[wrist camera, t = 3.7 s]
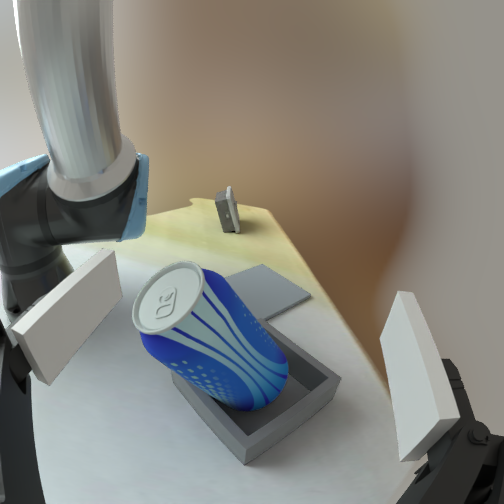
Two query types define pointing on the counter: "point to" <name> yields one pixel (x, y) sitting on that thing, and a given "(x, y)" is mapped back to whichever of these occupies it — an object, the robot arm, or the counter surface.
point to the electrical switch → (227, 210)
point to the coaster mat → (266, 291)
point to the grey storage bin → (252, 446)
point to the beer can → (209, 336)
